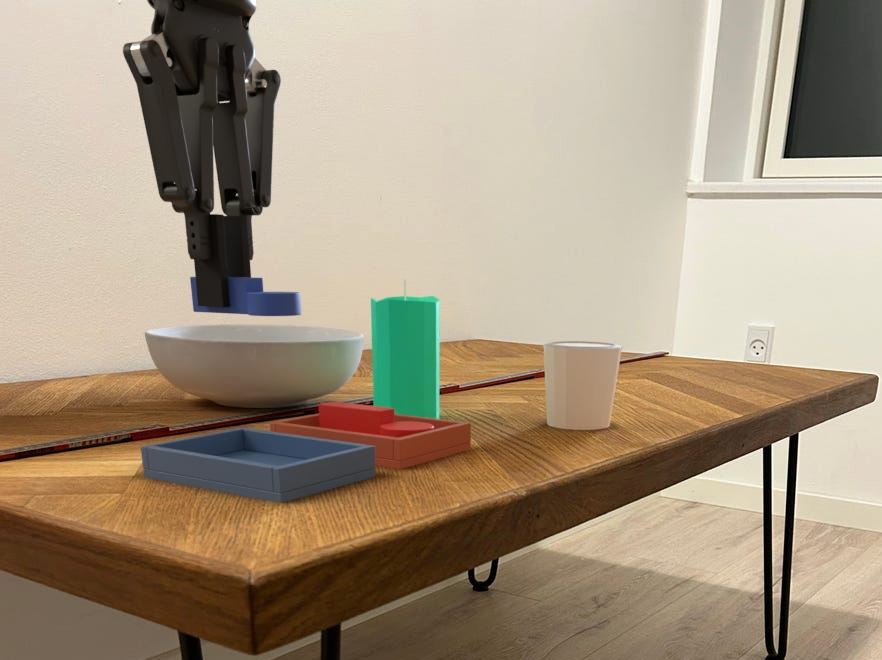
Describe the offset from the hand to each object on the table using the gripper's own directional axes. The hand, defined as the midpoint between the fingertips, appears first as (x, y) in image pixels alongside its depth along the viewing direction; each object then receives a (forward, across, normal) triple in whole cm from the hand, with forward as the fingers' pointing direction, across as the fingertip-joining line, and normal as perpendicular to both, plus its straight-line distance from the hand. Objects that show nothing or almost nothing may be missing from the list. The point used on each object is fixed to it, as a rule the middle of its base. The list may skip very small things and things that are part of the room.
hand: (225, 305), depth 74 cm
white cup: (+10, +22, -21) cm, 32 cm away
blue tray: (+10, -11, -13) cm, 20 cm away
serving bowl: (+10, +15, +11) cm, 21 cm away
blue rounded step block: (+1, 0, -2) cm, 2 cm away
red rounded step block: (+9, +1, -14) cm, 17 cm away
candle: (+10, +15, -7) cm, 19 cm away
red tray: (+10, +1, -13) cm, 17 cm away
